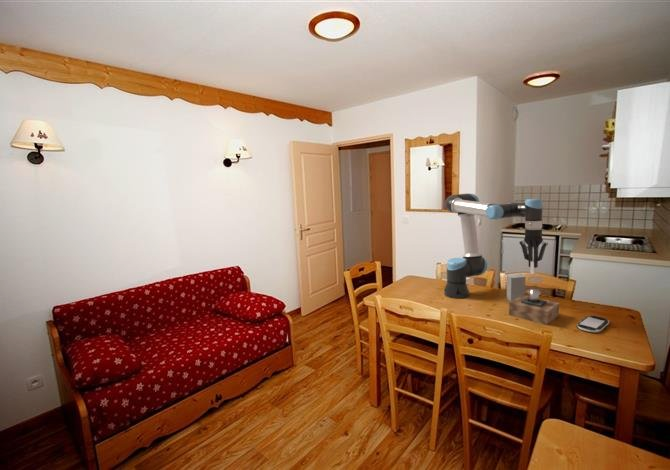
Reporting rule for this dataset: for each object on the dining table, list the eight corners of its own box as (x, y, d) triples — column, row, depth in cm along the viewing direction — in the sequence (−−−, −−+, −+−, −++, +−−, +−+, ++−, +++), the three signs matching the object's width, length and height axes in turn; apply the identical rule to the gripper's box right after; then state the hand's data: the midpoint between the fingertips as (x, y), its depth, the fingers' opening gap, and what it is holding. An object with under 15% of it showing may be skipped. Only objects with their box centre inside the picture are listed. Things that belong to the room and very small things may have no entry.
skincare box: (520, 298, 193) (520, 273, 191) (525, 302, 186) (526, 276, 184) (505, 298, 194) (506, 273, 191) (510, 302, 187) (511, 276, 184)
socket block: (508, 314, 171) (509, 300, 170) (521, 306, 180) (522, 293, 179) (547, 325, 157) (547, 309, 156) (558, 315, 166) (559, 301, 165)
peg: (528, 304, 168) (528, 290, 167) (531, 302, 171) (531, 288, 169) (536, 306, 165) (537, 291, 164) (539, 304, 167) (540, 289, 166)
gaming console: (596, 336, 144) (597, 331, 144) (573, 329, 152) (574, 324, 151) (611, 323, 155) (611, 318, 155) (588, 318, 162) (589, 313, 162)
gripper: (516, 229, 167) (516, 272, 170) (545, 230, 156) (544, 276, 159) (522, 227, 171) (522, 270, 174) (550, 228, 161) (549, 273, 164)
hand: (533, 273), depth 167 cm, fingers closed
